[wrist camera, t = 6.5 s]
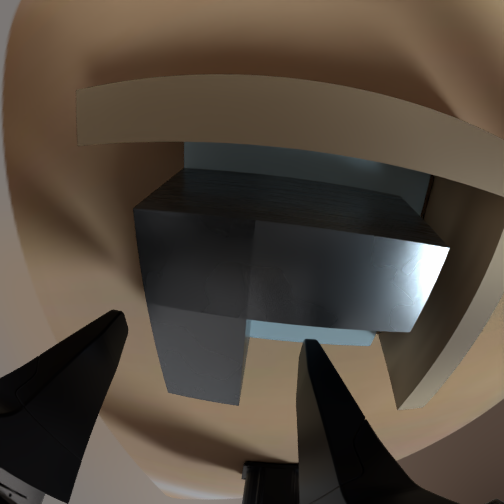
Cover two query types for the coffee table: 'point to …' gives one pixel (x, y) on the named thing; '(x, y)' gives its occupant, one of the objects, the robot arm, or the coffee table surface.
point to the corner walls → (352, 145)
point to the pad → (317, 169)
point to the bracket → (272, 267)
